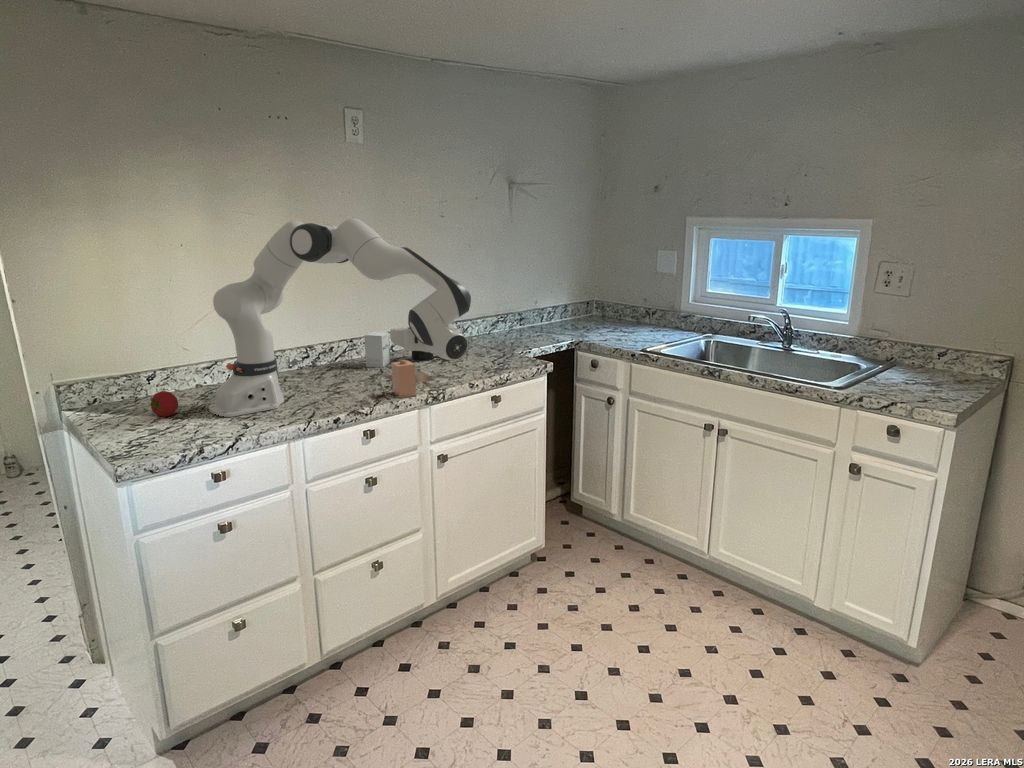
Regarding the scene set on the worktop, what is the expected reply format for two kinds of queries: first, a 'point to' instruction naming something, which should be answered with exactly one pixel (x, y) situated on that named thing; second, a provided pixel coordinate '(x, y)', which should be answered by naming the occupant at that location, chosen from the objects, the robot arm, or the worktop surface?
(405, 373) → the tan tall prism
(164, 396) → the tomato
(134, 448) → the worktop surface
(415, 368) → the block
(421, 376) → the tile
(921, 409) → the worktop surface
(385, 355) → the supplement box
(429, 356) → the milk frother
